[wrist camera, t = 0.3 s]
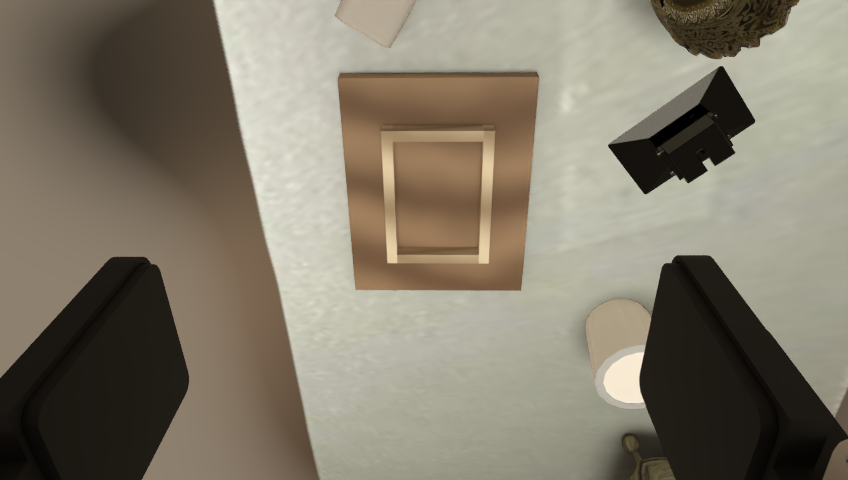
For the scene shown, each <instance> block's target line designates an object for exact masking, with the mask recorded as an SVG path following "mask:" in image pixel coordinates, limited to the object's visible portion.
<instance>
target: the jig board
mask: <svg viewBox="0 0 848 480" xmlns="http://www.w3.org/2000/svg"><path fill="white" fill-rule="evenodd" d="M538 83H539V76H538V74H537V73H378V74H340V75H339V77H338V87H339V99H340V110H341V122H342V134H343V146H344V158H345V170H346V182H347V194H348V206H349V217H350V229H351V241H352V253H353V265H354V277H355V289H356V290H519V291H521V285H522V273H523V261H524V249H525V237H526V226H527V214H528V202H529V190H530V178H531V166H532V154H533V143H534V131H535V119H536V107H537V95H538Z"/></svg>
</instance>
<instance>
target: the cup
mask: <svg viewBox="0 0 848 480" xmlns="http://www.w3.org/2000/svg"><path fill="white" fill-rule="evenodd" d="M798 2H799V0H651V3H652V6H653V9H654V11H655V13H656V15H657V17H658V19H659V20H660V22H661V23H662V24H663V26H664V27H665V28H666V29H667V31H668V32H669V33H670V35H671V37H672V38H673V39H674V40H675V41H676V42H677V43H678V44H679V45H680V46H683V47H685V48H686V49H687V50H688V51H689V52H690V53H691V54H693V55H695V56H697V55H698V54H700V53H701V54H703V55H705V56H707V57H709V58H712V59H721V58H722V56H724V57H726V56H729V57H735V56H736V55H737V54H738V52H739V51H741V47H747V48H752V47H759V46H760V38H762V37H764V36H766V35H771V34H773V33H775V32H776V31H778V30H779V29H781V28H783V27H784V26H785V25H786V23H787V21H788V17H789V13H790V10H791V7H792V6H795V5H797V3H798Z"/></svg>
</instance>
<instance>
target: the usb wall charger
mask: <svg viewBox="0 0 848 480" xmlns="http://www.w3.org/2000/svg"><path fill="white" fill-rule="evenodd" d="M415 2H416V0H342V1H341V3H340V5H339V7H338V9H337V11H336V13H335V16H336V17H337V18H338V19H339V20H340V21H342V22H343V23H345V24H346V25H348V26H350V27H351V28H353V29H355V30H356V31H358V32H360V33H361V34H363V35H365V36H366V37H368V38H370V39H371V40H373V41H375V42H376V43H378V44H380V45H382V46H384V47H386V48H390V47H391V46H392V44H393V42H394V40H395V38H396V36H397V35H398V33H399V31H400V29H401V27H402V25H403V24H404V22H405V20H406V18H407V16H408V15H409V13H410V11H411V9H412V7H413V5H414V4H415Z"/></svg>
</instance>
